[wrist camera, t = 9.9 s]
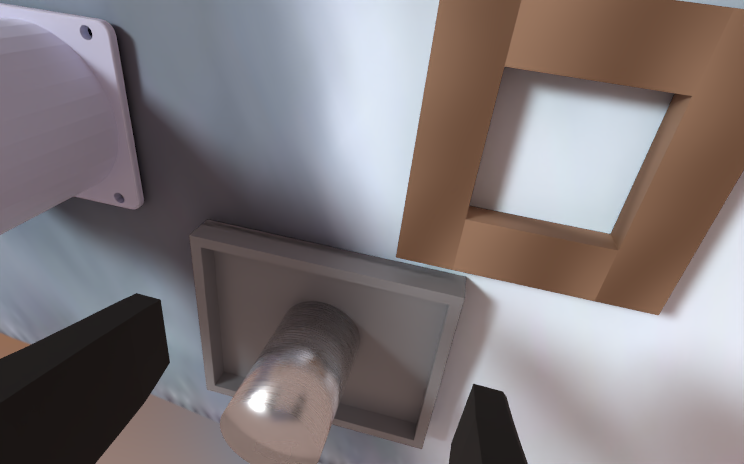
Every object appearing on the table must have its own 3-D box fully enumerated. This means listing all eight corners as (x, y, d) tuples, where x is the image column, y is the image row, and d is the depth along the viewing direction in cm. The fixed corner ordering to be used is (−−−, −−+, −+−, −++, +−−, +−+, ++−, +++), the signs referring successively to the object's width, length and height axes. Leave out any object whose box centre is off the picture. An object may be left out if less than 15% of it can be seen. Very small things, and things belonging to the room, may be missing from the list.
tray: (220, 369, 26) (207, 389, 24) (207, 219, 21) (189, 235, 19) (425, 424, 24) (421, 449, 23) (466, 276, 19) (464, 298, 18)
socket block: (400, 242, 19) (395, 257, 18) (447, -29, 14) (444, -30, 13) (648, 295, 18) (658, 315, 17) (803, 17, 12) (830, 21, 11)
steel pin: (275, 345, 23) (213, 448, 18) (291, 288, 21) (227, 386, 16) (347, 376, 23) (305, 488, 18) (370, 321, 21) (332, 430, 16)
